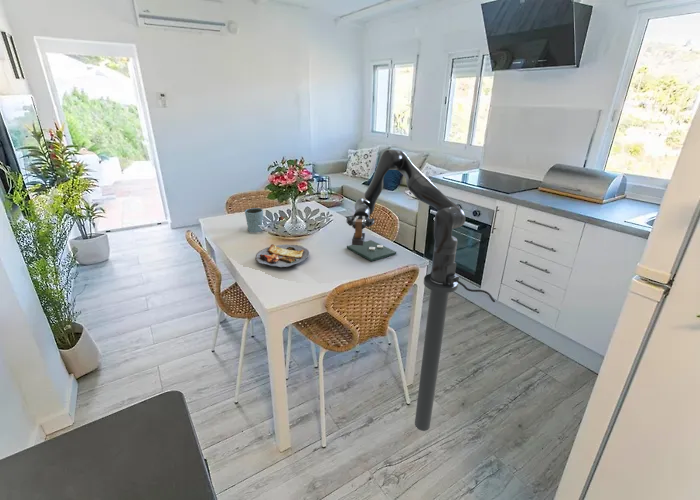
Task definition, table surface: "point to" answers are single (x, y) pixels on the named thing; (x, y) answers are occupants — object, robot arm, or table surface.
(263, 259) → the food plate
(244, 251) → the table surface
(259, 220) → the grey-green cup
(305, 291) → the table surface
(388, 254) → the slate
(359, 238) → the brown block with base
